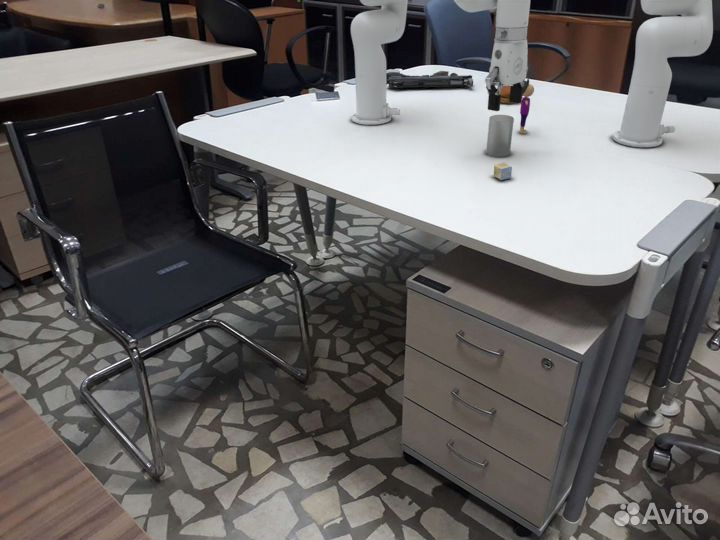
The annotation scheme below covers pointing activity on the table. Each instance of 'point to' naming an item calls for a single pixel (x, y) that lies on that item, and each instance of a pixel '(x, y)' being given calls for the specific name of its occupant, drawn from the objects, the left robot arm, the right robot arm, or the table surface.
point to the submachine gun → (428, 80)
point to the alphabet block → (502, 171)
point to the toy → (525, 104)
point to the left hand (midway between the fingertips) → (504, 106)
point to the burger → (505, 94)
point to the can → (499, 135)
